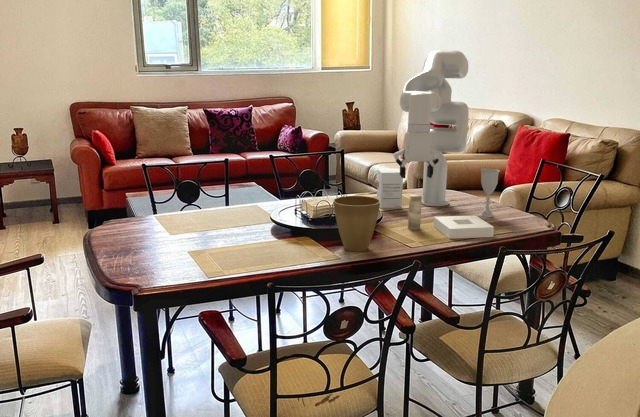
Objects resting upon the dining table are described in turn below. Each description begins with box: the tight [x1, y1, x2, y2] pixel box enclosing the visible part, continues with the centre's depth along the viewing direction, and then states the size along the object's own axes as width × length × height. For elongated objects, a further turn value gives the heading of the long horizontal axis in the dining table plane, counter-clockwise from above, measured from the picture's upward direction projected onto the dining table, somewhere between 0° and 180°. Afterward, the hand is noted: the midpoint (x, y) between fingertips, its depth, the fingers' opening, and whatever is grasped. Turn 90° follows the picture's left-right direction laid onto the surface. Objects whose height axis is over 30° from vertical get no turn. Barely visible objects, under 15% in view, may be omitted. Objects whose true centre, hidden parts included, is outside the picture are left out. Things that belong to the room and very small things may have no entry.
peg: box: [407, 194, 423, 231], centre depth 225 cm, size 4×4×12 cm
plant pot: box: [333, 195, 380, 252], centre depth 201 cm, size 15×15×16 cm
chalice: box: [479, 167, 501, 218], centre depth 243 cm, size 7×7×18 cm
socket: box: [433, 214, 495, 240], centre depth 223 cm, size 16×16×4 cm
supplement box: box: [376, 168, 404, 209], centre depth 257 cm, size 9×9×15 cm
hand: (416, 177), depth 221 cm, fingers open, 9 cm apart
